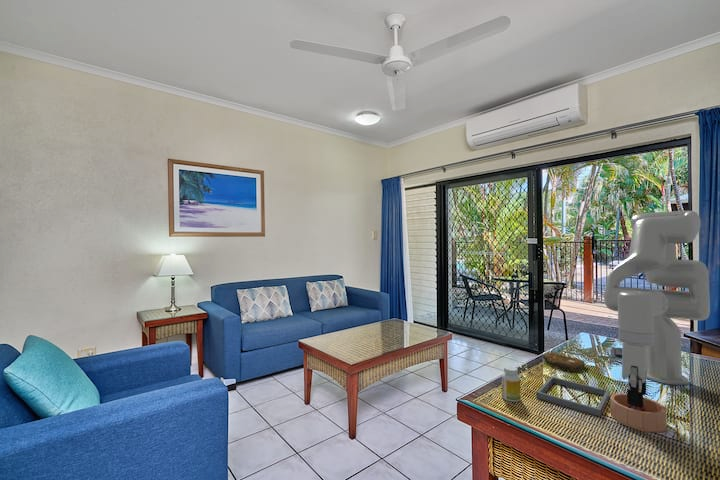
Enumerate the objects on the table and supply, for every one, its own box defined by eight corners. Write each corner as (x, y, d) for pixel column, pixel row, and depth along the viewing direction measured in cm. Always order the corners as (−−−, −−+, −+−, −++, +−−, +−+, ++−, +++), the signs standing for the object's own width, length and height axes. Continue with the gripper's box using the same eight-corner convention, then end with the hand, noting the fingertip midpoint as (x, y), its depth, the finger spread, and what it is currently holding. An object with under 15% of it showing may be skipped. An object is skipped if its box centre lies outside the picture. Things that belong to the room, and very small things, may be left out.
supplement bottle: (498, 396, 106) (497, 366, 106) (509, 393, 108) (509, 363, 108) (512, 403, 101) (511, 372, 101) (524, 400, 103) (523, 369, 103)
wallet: (609, 353, 140) (611, 344, 152) (609, 358, 140) (611, 348, 152) (674, 364, 128) (671, 353, 139) (674, 369, 128) (671, 358, 139)
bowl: (614, 405, 99) (613, 389, 99) (666, 419, 91) (666, 402, 91) (607, 421, 91) (607, 403, 91) (665, 438, 82) (665, 418, 82)
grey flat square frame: (551, 381, 116) (551, 376, 116) (609, 396, 105) (609, 390, 105) (536, 397, 105) (536, 392, 105) (600, 416, 93) (600, 410, 93)
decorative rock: (536, 365, 133) (580, 377, 122) (536, 355, 133) (580, 366, 122) (545, 356, 141) (587, 367, 130) (545, 347, 141) (587, 356, 130)
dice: (648, 416, 91) (647, 402, 91) (644, 422, 88) (644, 407, 88) (630, 411, 94) (630, 397, 94) (627, 417, 91) (626, 402, 91)
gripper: (622, 328, 100) (623, 385, 100) (613, 341, 87) (615, 406, 87) (655, 332, 94) (657, 392, 94) (651, 347, 82) (653, 416, 82)
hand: (637, 399), depth 91 cm, fingers open, 9 cm apart
